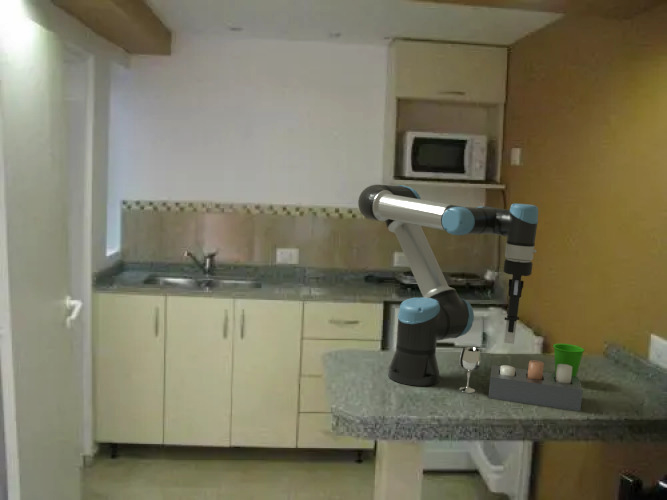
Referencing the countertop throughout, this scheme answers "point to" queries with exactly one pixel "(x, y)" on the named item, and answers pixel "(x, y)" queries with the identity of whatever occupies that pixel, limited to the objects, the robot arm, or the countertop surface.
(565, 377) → the white plug
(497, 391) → the grey socket block
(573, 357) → the cup
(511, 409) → the countertop surface
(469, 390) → the wineglass
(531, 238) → the robot arm
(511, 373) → the white plug
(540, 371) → the plug terracotta
